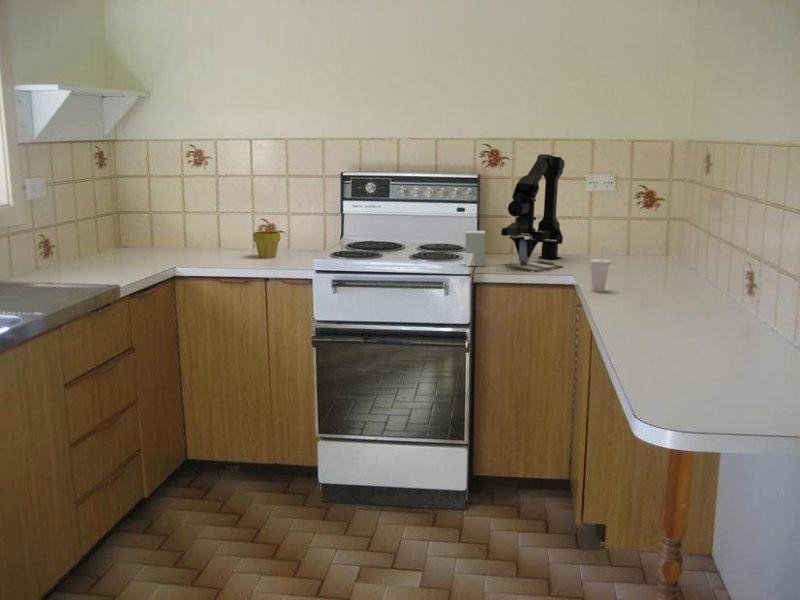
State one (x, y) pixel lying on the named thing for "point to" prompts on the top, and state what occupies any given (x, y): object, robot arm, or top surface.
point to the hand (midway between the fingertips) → (524, 256)
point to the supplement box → (476, 246)
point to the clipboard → (535, 266)
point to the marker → (523, 252)
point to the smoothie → (599, 273)
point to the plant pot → (266, 243)
